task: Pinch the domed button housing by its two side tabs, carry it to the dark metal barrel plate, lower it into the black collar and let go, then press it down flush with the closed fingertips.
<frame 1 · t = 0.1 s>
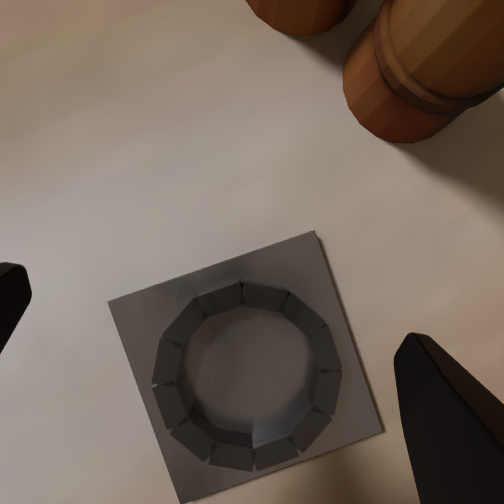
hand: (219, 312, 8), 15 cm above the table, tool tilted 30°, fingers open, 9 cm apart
barrel plate: (247, 362, 23), on the table
binoculars: (351, 29, 23), on the table
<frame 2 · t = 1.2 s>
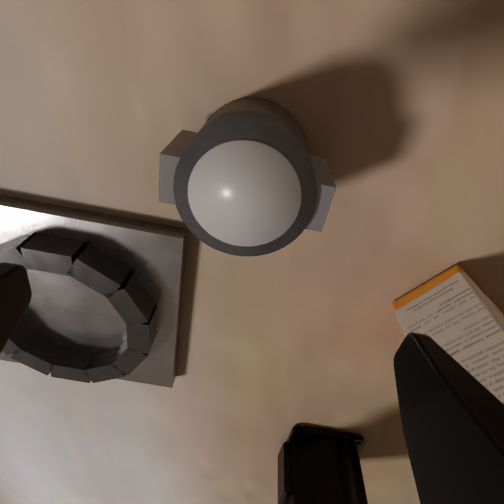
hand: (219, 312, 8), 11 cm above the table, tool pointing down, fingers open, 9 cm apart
supplement box: (453, 315, 23), on the table
barrel plate: (80, 297, 24), on the table
domed button housing: (252, 156, 18), on the table
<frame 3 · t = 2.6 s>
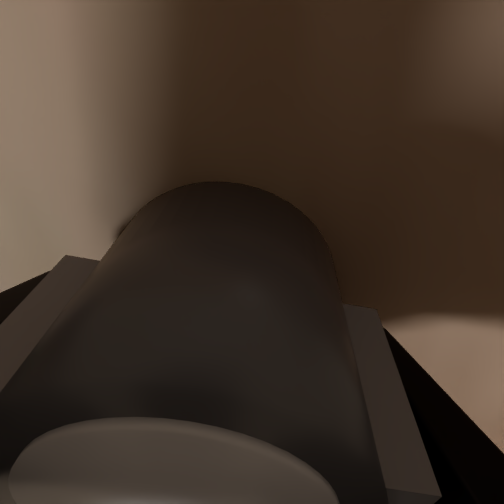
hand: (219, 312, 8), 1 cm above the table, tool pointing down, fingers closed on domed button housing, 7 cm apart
domed button housing: (225, 283, 9), on the table, touching gripper
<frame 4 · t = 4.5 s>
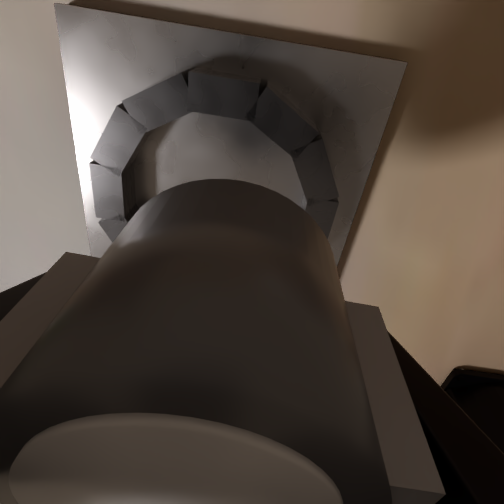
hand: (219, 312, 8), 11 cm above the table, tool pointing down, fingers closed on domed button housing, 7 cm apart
barrel plate: (220, 188, 18), on the table
domed button housing: (226, 281, 9), point 10 cm above the table, touching gripper
when the fingers open (3 cm above the table, at t = 6.6 s): domed button housing drops 1 cm, resting on barrel plate.
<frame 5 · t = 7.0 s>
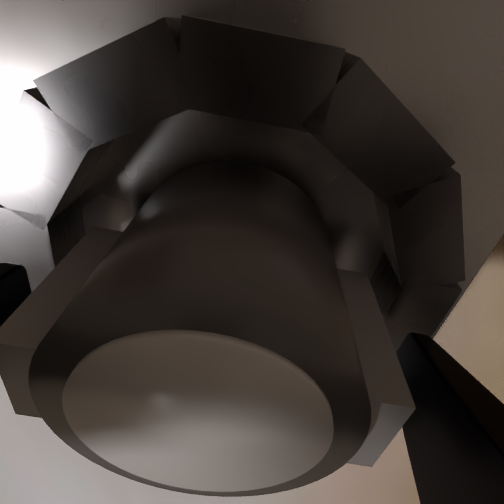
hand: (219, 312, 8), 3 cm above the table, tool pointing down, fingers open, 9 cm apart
barrel plate: (233, 239, 11), on the table
domed button housing: (232, 256, 10), point 1 cm above the table, touching barrel plate
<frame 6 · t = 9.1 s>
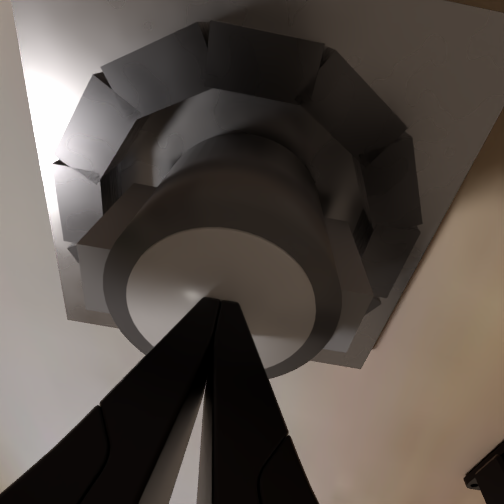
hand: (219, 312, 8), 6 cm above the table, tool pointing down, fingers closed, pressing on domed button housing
barrel plate: (241, 202, 13), on the table
domed button housing: (240, 213, 12), point 1 cm above the table, touching barrel plate, gripper
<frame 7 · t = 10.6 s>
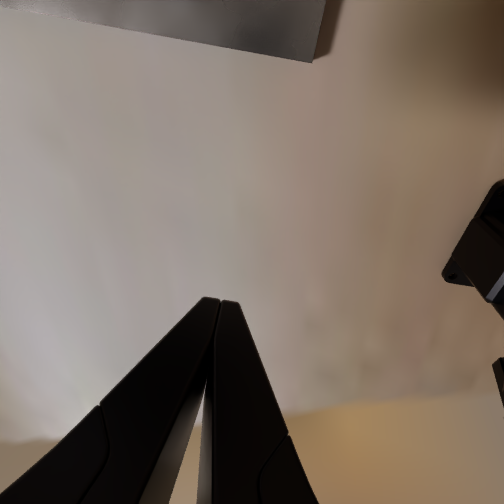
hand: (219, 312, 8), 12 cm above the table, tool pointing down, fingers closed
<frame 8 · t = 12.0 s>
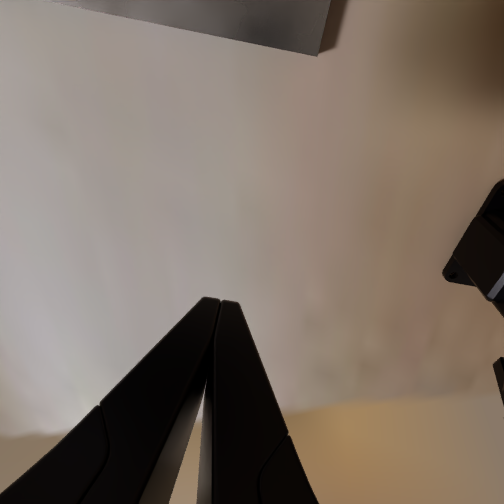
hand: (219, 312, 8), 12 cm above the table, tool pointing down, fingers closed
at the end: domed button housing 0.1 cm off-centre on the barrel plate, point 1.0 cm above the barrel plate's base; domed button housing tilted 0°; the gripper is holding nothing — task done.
